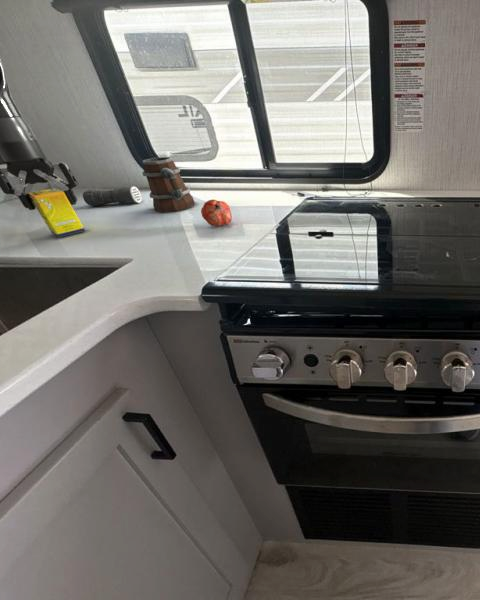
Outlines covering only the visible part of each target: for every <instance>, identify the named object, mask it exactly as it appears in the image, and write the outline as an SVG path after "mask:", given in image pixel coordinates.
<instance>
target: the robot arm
mask: <svg viewBox="0 0 480 600" xmlns="http://www.w3.org/2000/svg"><path fill="white" fill-rule="evenodd" d="M0 157H1V158H2V160H3V161H4V163H5V164H6V167H0V189H1V191H2V193H3V194H5V195H14V196H16V197H18V199H19V201H20V202H21V204H22V206H23V207H24V208H25V209H28V210H29V211H34V210H37V208H36V207H35V205H34V203H33V202H32V200H31V199H30V197H29V195H28V194H27V193H26V191H27V187H28V185H35V184H46V183H51V184H52V185H54V186H57V187H59V188H60V189H62V191H63V192H64V193H65V195H66V197H67V199H68V200H69V202H70V204H71V206H75V205H77V202H78V198H77V196H76V194H75V192H74V190H73V188H75V187H78V185H79V182H78V180H77V178H76V176H75V175H74V172H73V171H72V170H71V167H70V166H69V164H68V162H66V161H61V162H56V163H52V162H51V161H49V159H48V157H47V156H46V153H45V151H44V150H43V148H42V146H41V144H40V142H39V141H38V139H37V137H36V136H35V133H34V132H33V130H32V127H30V125H29V123H28V122H27V121H26V119H25V118H24V116H23V114H22V112H21V111H20V109H19V107H18V105H17V104H16V102H15V100H14V99H13V96H12V93H11V89H10V86H9V82H8V77H7V73H6V68H5V64H4V60H3V58H2V55H0ZM55 170H57V171H58V172H60V173H62V174H63V176H64V178H65V179H66V181H67V182H66V181H64V180H63V179H62V178H61V177H59V176H58V175H57V174H54V172H55ZM9 174H11V176H13V177H16V179H17V180H16V183H15V188H14V187H13V185H12V184H11V182H10V180H9V178H8V177H9Z"/></svg>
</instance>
